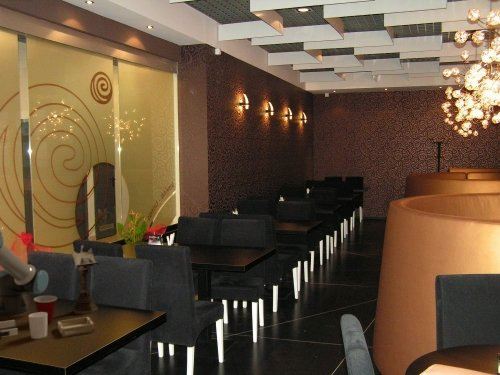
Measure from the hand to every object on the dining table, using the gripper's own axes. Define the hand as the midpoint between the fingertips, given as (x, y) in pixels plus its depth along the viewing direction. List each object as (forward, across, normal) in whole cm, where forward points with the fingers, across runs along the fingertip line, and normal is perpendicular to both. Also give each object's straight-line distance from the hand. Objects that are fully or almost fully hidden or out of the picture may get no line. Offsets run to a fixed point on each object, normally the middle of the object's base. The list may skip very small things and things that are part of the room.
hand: (16, 327), depth 235 cm
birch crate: (+25, 0, -6) cm, 26 cm away
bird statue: (+36, -27, -6) cm, 46 cm away
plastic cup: (+15, -21, -6) cm, 27 cm away
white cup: (+9, 0, -6) cm, 11 cm away
